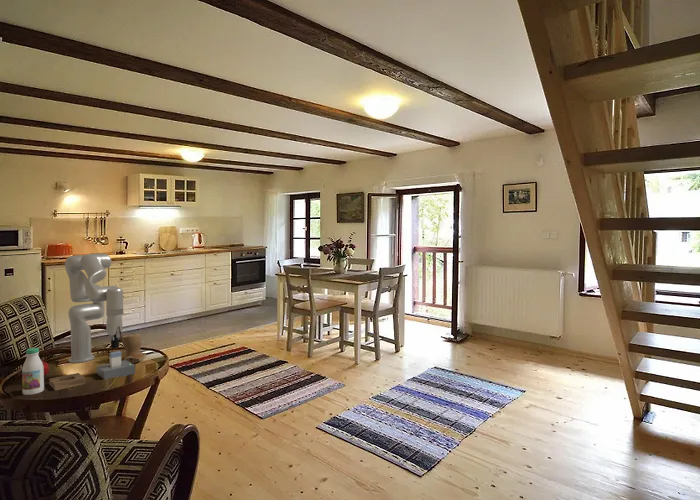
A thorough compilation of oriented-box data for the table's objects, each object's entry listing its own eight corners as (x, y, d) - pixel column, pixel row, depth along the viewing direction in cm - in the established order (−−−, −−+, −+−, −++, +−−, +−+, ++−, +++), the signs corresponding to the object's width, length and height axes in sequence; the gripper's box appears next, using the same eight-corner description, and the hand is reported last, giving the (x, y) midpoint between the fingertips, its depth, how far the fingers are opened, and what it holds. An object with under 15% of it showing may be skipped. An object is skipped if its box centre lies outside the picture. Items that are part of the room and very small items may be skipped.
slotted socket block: (49, 385, 194) (49, 379, 194) (78, 378, 203) (78, 372, 203) (55, 391, 186) (55, 385, 186) (85, 384, 195) (85, 378, 194)
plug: (109, 373, 209) (109, 352, 209) (119, 371, 212) (119, 351, 212) (111, 374, 207) (111, 354, 207) (121, 372, 210) (121, 352, 210)
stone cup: (126, 356, 240) (126, 331, 239) (148, 355, 242) (147, 330, 242) (117, 364, 225) (116, 337, 224) (140, 363, 227) (140, 336, 227)
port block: (96, 374, 209) (96, 365, 208) (126, 368, 219) (126, 359, 219) (104, 380, 200) (104, 370, 200) (134, 373, 211) (134, 364, 211)
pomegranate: (42, 372, 213) (42, 354, 213) (53, 374, 209) (53, 356, 209) (20, 377, 204) (20, 359, 204) (31, 380, 200) (31, 361, 200)
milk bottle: (30, 389, 188) (29, 346, 188) (48, 389, 189) (47, 346, 188) (18, 396, 181) (17, 351, 180) (36, 395, 181) (35, 351, 180)
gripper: (101, 310, 211) (102, 345, 212) (111, 315, 201) (111, 352, 202) (117, 309, 217) (117, 343, 217) (128, 313, 206) (128, 349, 207)
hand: (114, 347), depth 210 cm, fingers closed
